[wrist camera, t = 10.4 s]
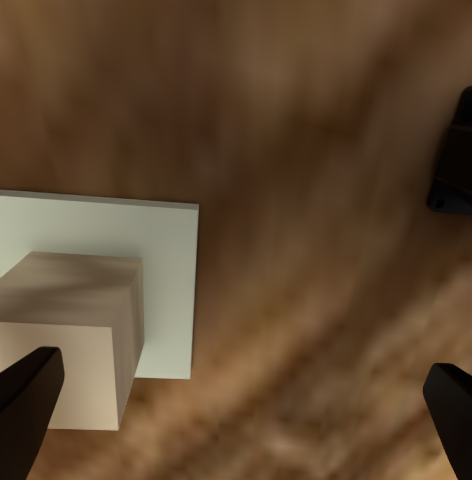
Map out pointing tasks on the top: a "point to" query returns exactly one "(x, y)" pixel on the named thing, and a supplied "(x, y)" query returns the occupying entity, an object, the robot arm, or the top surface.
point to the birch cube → (78, 329)
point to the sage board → (119, 245)
